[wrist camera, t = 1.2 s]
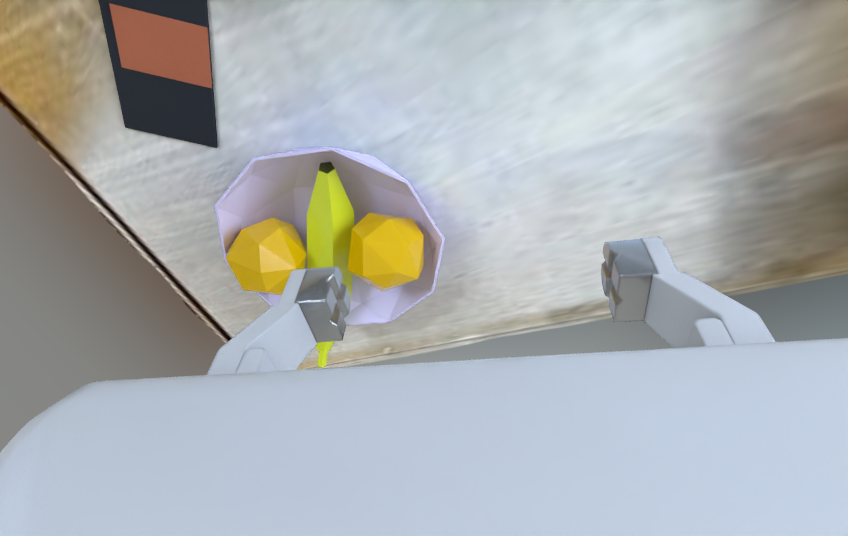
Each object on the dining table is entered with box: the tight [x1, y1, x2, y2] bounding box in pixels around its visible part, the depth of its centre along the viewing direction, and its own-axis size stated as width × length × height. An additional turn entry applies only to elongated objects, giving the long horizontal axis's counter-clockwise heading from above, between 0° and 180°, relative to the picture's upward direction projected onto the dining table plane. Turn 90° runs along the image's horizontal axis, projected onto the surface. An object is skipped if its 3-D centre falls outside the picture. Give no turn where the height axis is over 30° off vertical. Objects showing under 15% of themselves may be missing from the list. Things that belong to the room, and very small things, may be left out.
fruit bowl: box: [214, 147, 445, 367], centre depth 57 cm, size 28×27×11 cm
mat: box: [99, 0, 217, 148], centre depth 48 cm, size 20×10×1 cm, turn 167°
